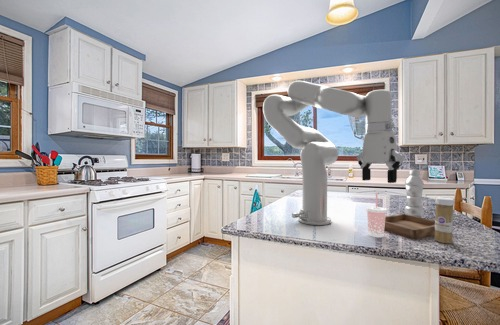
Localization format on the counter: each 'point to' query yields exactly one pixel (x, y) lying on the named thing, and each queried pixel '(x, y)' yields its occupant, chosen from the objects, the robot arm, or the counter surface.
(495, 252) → the counter surface
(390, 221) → the walnut tray
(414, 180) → the plastic bottle
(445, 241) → the sprinkles bottle
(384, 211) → the beverage cup
